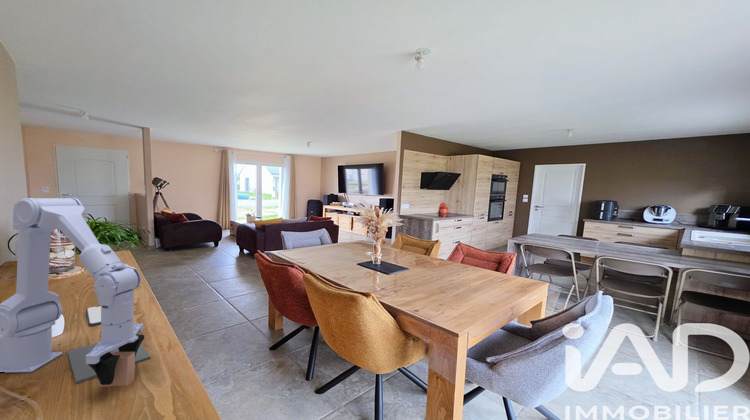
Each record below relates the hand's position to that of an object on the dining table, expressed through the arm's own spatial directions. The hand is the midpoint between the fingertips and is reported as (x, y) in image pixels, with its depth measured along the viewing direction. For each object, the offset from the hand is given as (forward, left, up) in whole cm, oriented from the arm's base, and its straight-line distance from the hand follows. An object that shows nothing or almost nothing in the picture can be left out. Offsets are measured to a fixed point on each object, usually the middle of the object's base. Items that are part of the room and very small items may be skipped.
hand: (117, 374), depth 67 cm
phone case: (-30, +36, -3) cm, 47 cm away
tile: (0, 0, -2) cm, 2 cm away
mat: (-10, +11, -2) cm, 15 cm away
